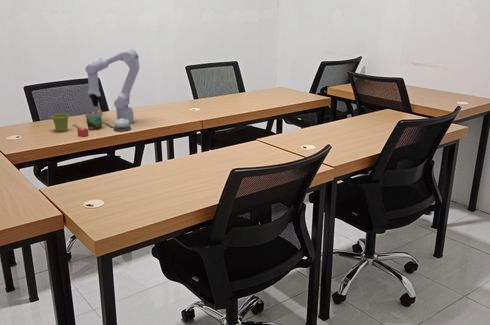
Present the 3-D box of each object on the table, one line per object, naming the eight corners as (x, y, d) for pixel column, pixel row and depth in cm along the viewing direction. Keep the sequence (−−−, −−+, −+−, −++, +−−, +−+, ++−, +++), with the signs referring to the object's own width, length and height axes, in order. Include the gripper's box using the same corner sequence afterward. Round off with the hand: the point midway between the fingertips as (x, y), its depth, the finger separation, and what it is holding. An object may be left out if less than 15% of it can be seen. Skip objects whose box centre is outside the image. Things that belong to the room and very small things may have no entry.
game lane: (101, 120, 306) (101, 119, 305) (114, 127, 291) (114, 126, 290) (72, 125, 295) (72, 124, 295) (84, 132, 280) (84, 131, 280)
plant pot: (64, 133, 279) (63, 118, 276) (49, 132, 281) (47, 117, 278) (73, 128, 288) (72, 114, 285) (58, 127, 289) (57, 113, 287)
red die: (84, 134, 277) (83, 126, 275) (88, 135, 274) (87, 128, 273) (78, 135, 274) (77, 128, 272) (82, 137, 271) (81, 129, 270)
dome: (125, 123, 292) (125, 116, 290) (131, 126, 286) (130, 119, 284) (112, 125, 287) (112, 118, 286) (118, 128, 281) (117, 121, 280)
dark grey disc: (126, 126, 294) (126, 124, 293) (133, 129, 286) (133, 127, 286) (110, 128, 288) (110, 126, 288) (117, 132, 281) (117, 130, 280)
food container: (96, 131, 283) (94, 114, 279) (86, 130, 284) (85, 113, 281) (107, 126, 294) (106, 109, 290) (99, 125, 295) (97, 108, 292)
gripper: (82, 83, 299) (84, 105, 304) (91, 86, 289) (93, 109, 293) (94, 81, 303) (96, 103, 308) (103, 85, 293) (105, 107, 297)
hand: (95, 106), depth 301 cm, fingers closed
